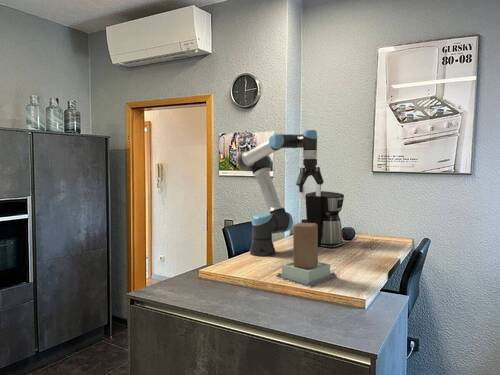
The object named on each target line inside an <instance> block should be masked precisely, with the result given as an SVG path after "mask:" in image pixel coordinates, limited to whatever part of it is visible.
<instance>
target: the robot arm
mask: <svg viewBox="0 0 500 375" xmlns="http://www.w3.org/2000/svg"><path fill="white" fill-rule="evenodd" d="M302 148H303V149H302ZM281 149H302V150H303V152H302V157H303V160H302V161H303V163H302V164H303V167H300V168H299V174H298V177H297V180H296V183H295V185H296V186H297V187H298V191H299V192H298V193H299V199H305V186H304V185H305V183H306V181H307V179H308V177H310V176H311V177H312V178H313V179H314V181H315V183H316V184H315V192H316V196H321V191H322V185H323V184H324V179H323V175H322V173H321V172H322V171H321V167H320V166H318V159H317V158H318V131H317V130H316V129H305V130H303V132H302V133H300V134H291V133H289V134H287V133H286V134H285V133H284V134H283V133H282V134H281V133H276V134H275V133H274V134H271V135H270V136H269V138H268V140H266V141H265V142H263V143H261V144H259V145H257V146H256V147H254V148H252V149H250V150H249V151H248V150H246V151H243V152H242V153H240V154H239V155H238V156H237V160H236V164H237V167H238V168H239V169H240V170H242V171H245V172H252V174H253V176H254V177H256V180H257V183H258V186H259V188H260V190H261V194H262V197H263V200H264V202H265V205H266V208H267V212H260V213H256V214H254V215H253V216H252V218H251V226H252V227H251V234H252V235H251V236H252V240H251V244H250V248H249V254H250V255H252V256H257V257H267V256H268V257H269V256H272V255H275V254H276V248H275V245H274V242H273V235H275V234H280V233H285V232H289V231H290V230H291V229H292V228H293V224H294V223H293V222H294V221H293V217H292V214H291V213H290V212H287V211H286V209H285V207H283V206H282V205H281V201H280V199H279V197H278V194H277V191H276V187H275V184H274V182H273V180H272V176H271V174H270V172H271V168H272V167H273V166H272V163H273V162H272V158H271V157H270V155H272V154H273V153H276V152H277V151H280V150H281Z"/></svg>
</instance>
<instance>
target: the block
mask: <svg viewBox="0 0 500 375" xmlns="http://www.w3.org/2000/svg"><path fill="white" fill-rule="evenodd" d="M292 233H293V234H292V237H293V238H292V240H293V244H292V245H293V247H292V248H293V249H292V250H293V251H292V252H293V255H292V256H293V261H294V267H296V268H300V269H314V268H315V267H316V266H317V264H318V261H319V253H318V252H319V251H318V250H319V247H318V225H317V224H316V223H307V222H297V223H296V224H295V225H293V226H292Z"/></svg>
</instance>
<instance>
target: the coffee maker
mask: <svg viewBox="0 0 500 375" xmlns="http://www.w3.org/2000/svg"><path fill="white" fill-rule="evenodd" d="M304 199H305V213H306V214H305V216H306V223H316V224H317V225H318V248H326V249H334V248H335V249H336V248H339V247H341V246H343V245H344V244H345V241H343V228H342V222H341V221H342V220H341V218H340V216H339V213H340V212H341V211H342V209H343V205H344V199H345V195H344V194H343V193H339V192H335V191H324V190H321V196H316V191H312V192H308V193H306V194H304Z"/></svg>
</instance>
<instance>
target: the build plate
mask: <svg viewBox="0 0 500 375" xmlns="http://www.w3.org/2000/svg"><path fill="white" fill-rule="evenodd" d="M276 277H279V278H283V279H286V280H289V281H288V282H290V281H292V282H291V283H293V282H295V283H294V284H297V283H299V284H298V285H300V284H302V285H301V286H303V285H306V286H305V287H307V286H312V287H314V286H317V285H319V284H318V283H320V284H322V283H325V282H326V281H329V280H332V279H335V278H337V274H336V273H335V272H334V271H333V272H331V264H330V263H327V262H323V261H319V260H318V264H317V266H316V267H315V268H314V269H300V268H296V267H294V260H293V261H290V262H287V263H286V262H285V263H282V264H281V273H280V272H278V273H277V274H276V275H275V278H276ZM279 278H278V279H279ZM283 279H282V280H283ZM286 280H285V281H286ZM324 281H325V282H324ZM321 282H322V283H321ZM316 284H317V285H316ZM313 285H314V286H313Z"/></svg>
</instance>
